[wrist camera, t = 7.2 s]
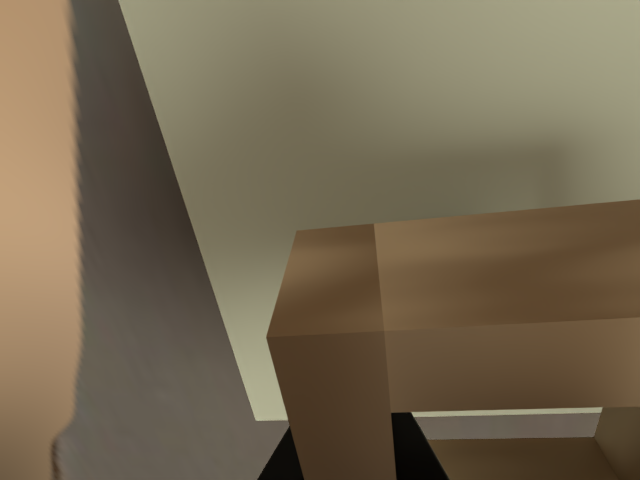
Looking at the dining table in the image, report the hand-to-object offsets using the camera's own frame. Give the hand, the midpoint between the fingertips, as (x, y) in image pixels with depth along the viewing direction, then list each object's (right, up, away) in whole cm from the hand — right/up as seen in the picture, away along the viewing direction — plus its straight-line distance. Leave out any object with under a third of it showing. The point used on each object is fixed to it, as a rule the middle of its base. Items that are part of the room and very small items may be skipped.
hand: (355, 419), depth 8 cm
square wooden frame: (+3, +1, +1) cm, 3 cm away
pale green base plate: (+4, +4, +7) cm, 9 cm away
